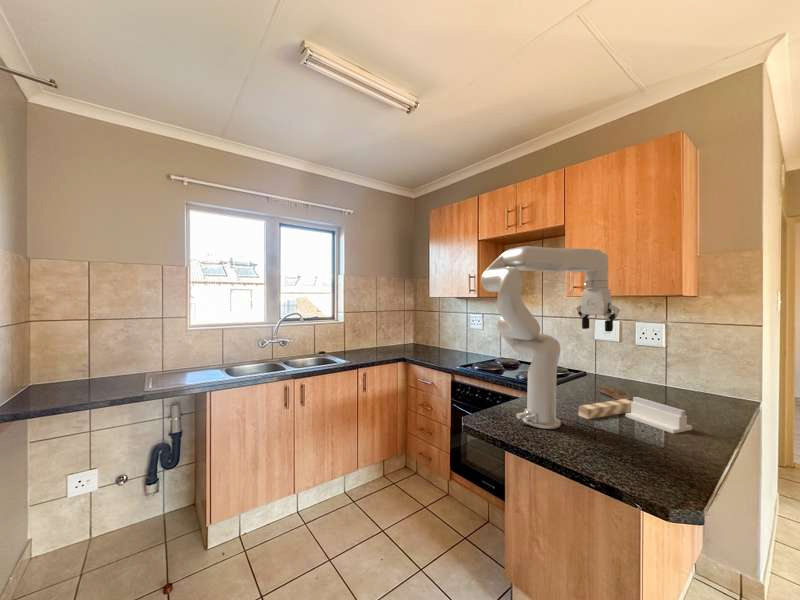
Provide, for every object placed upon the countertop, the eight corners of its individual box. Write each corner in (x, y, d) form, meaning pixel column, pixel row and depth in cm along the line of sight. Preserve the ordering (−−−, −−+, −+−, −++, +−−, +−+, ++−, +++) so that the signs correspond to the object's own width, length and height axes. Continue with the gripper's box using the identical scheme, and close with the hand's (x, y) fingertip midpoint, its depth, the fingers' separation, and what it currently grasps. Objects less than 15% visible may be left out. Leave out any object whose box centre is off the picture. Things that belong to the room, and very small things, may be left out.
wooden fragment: (634, 402, 141) (634, 400, 141) (605, 400, 145) (605, 397, 145) (617, 387, 165) (617, 385, 165) (592, 385, 169) (593, 383, 169)
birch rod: (587, 420, 121) (588, 409, 121) (578, 416, 124) (578, 405, 124) (634, 411, 130) (635, 401, 130) (624, 408, 134) (625, 398, 134)
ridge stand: (673, 433, 109) (673, 412, 109) (625, 416, 124) (625, 398, 124) (692, 429, 112) (692, 409, 112) (643, 413, 127) (643, 395, 127)
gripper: (570, 286, 132) (570, 328, 132) (611, 285, 116) (611, 333, 116) (584, 285, 135) (584, 327, 135) (626, 284, 118) (626, 331, 119)
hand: (596, 329), depth 126 cm, fingers open, 9 cm apart
